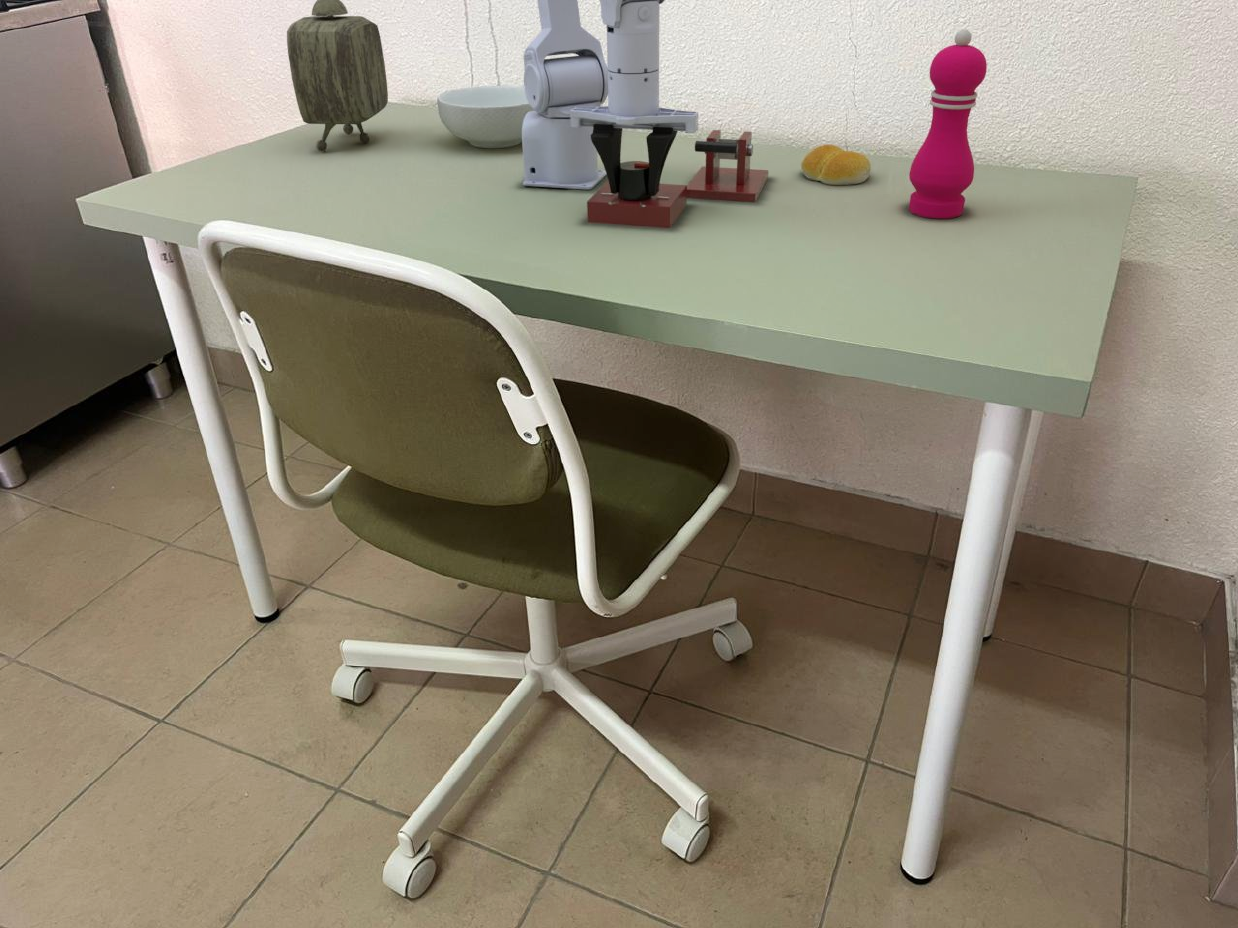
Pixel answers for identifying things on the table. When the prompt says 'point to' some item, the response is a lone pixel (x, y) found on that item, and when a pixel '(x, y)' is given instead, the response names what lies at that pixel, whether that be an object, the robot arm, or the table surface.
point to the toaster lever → (719, 148)
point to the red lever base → (728, 175)
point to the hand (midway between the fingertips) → (634, 192)
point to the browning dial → (633, 180)
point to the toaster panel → (638, 207)
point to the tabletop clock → (337, 69)
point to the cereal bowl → (485, 114)
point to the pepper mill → (948, 132)
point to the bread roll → (835, 166)
